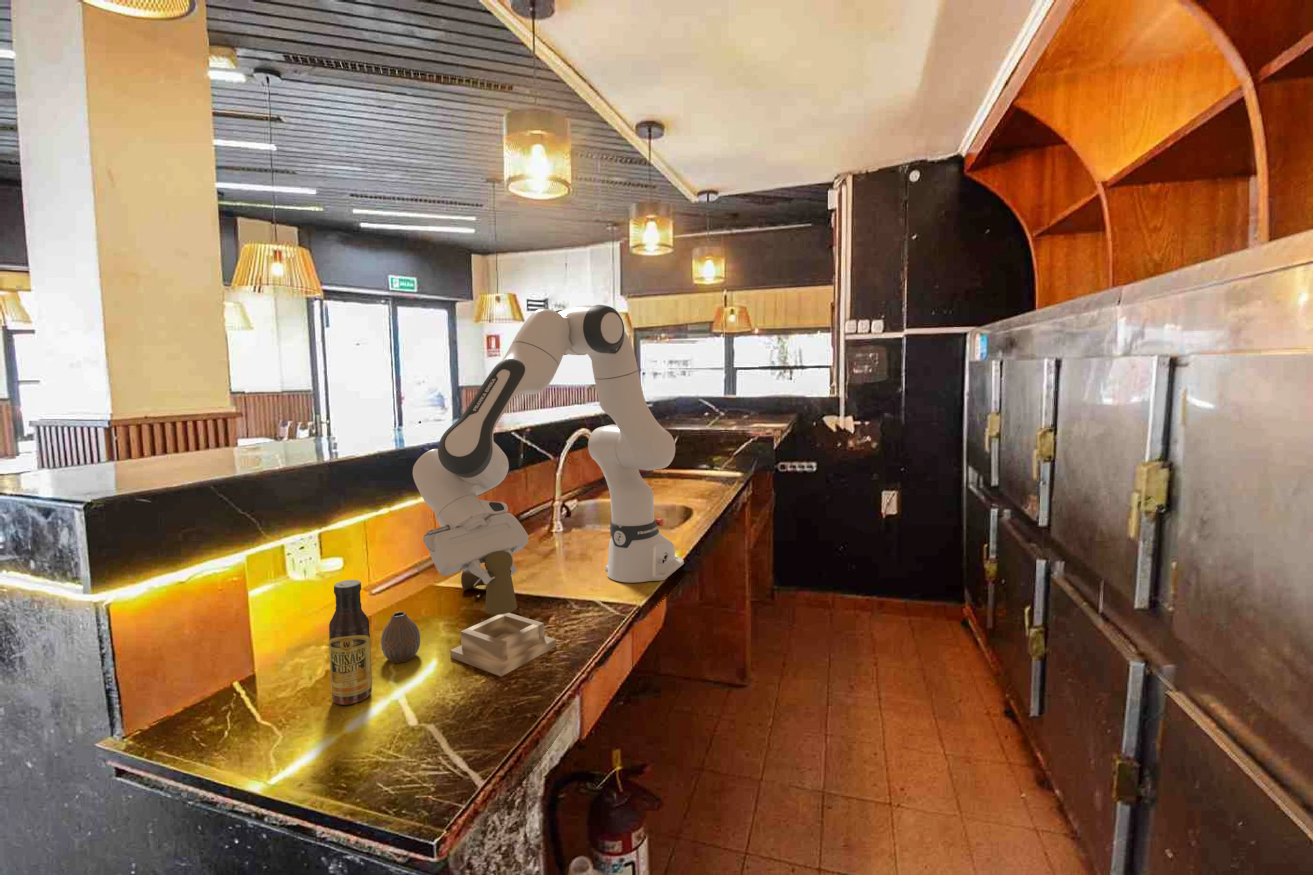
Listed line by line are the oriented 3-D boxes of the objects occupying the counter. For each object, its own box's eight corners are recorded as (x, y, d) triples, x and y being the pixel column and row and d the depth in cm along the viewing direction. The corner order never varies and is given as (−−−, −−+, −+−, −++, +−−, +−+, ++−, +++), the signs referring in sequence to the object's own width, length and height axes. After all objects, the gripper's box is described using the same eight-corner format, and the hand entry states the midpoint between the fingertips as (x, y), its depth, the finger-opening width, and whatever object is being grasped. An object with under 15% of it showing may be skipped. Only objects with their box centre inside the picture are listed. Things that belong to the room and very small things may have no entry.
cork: (509, 615, 116) (506, 557, 115) (479, 613, 117) (475, 556, 116) (522, 603, 122) (519, 548, 121) (493, 601, 123) (490, 547, 122)
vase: (429, 654, 121) (426, 610, 120) (398, 669, 115) (394, 624, 114) (405, 647, 124) (402, 604, 123) (374, 661, 118) (370, 617, 117)
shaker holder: (506, 630, 130) (505, 607, 130) (556, 646, 122) (554, 621, 122) (450, 657, 119) (449, 632, 118) (500, 676, 111) (499, 649, 110)
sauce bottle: (328, 710, 101) (317, 592, 99) (336, 691, 107) (326, 579, 105) (372, 703, 103) (362, 587, 101) (377, 685, 109) (368, 575, 107)
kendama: (517, 572, 169) (494, 598, 149) (483, 574, 170) (455, 599, 150) (516, 551, 169) (492, 573, 149) (481, 552, 169) (453, 575, 149)
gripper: (425, 522, 113) (464, 584, 109) (511, 501, 130) (547, 553, 125) (412, 543, 116) (449, 604, 112) (497, 519, 133) (532, 571, 128)
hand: (501, 577), depth 119 cm, fingers closed on cork, 4 cm apart
